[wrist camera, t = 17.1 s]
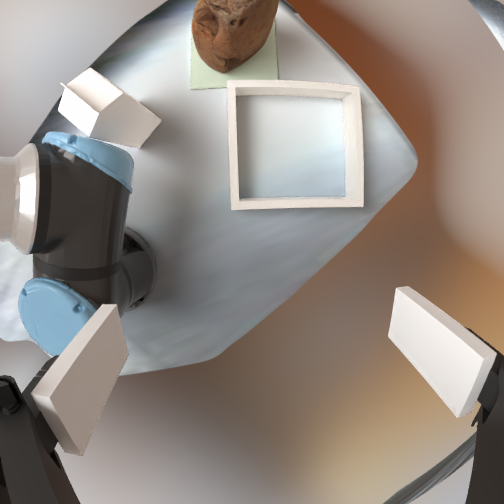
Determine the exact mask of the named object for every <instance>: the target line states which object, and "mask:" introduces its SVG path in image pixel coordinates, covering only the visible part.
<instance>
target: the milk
mask: <svg viewBox="0 0 504 504" xmlns="http://www.w3.org/2000/svg"><path fill="white" fill-rule="evenodd" d="M61 85H63V86H64V87H65V90H64V93H63V96H62V99H61V102H60V105H59V108H58V111H59V112H60V113H61V114H63V115H64V116H65V117H66V118H67V119H68V120H69V121H71V122H72V123H73V124H74V125H75V126H76V127H77V128H79V129H80V130H81V131H82V132H83V133H84V134H85V135H87V136H88V137H89V138H93V139H98V140H103V141H107V142H112V143H116V144H121V145H125V146H129V147H134V148H138V149H139V148H140V147H141V146H142V144H143V143H144V142H145V141H146V139H147V138H148V137H149V136H150V135H151V133H152V132H153V131H154V130H155V128H156V127H157V126H158V125H159V124H160V123H161V121H162V120H161V119H160V118H158V117H157V116H156V115H155V114H153V113H152V112H151V111H149V110H148V109H147V108H146V107H144V106H143V105H142V104H141V103H139V102H138V101H137V100H135V99H134V98H133V97H131V96H130V95H128V94H127V93H126V92H124V91H123V90H122V89H120V88H119V87H117V86H116V85H115V84H113V83H112V82H110V81H109V80H108V79H106V78H105V77H103V76H102V75H100V74H99V73H98V72H96V71H95V70H93V69H92V68H89V69H87V70H86V71H84V72H83V73H82V74H80V75H79V76H78V77H76V78H75V79H74V80H73V81H71V82H70V83H68V84H67V85H66V84H63V83H61Z"/></svg>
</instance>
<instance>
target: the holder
mask: <svg viewBox="0 0 504 504" xmlns="http://www.w3.org/2000/svg"><path fill="white" fill-rule="evenodd" d="M243 95H282V96H307V97H323V98H335V99H342V106H343V122H344V146H345V196H321V197H268V198H241V199H239V184H238V156H237V125H236V96H243ZM227 107H228V141H229V169H230V195H231V210H245V209H272V208H309V207H363V205H364V160H363V131H362V113H361V99H360V87H359V86H352V85H343V84H334V83H324V82H311V81H294V80H227Z"/></svg>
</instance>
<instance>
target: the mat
mask: <svg viewBox="0 0 504 504" xmlns="http://www.w3.org/2000/svg"><path fill="white" fill-rule="evenodd" d="M192 20H193V19H192ZM227 80H278V68H277V51H276V36H275V21H273V26H272V29H271V31H270V34H269V36H268V38H267V40H266V42H265V44H264V46H263V47H262V48H261V49H260V50H259V51H258V52H257V53H256V54H255V55H254V56H252V57H251V58H250V59H249V60H247V61H246V62H245V63H243V64H242V65H240V66H239V67H237V68H235V69H233V70H231V71H229V72H227V73H224V74H223V73H220V72H217V71H215V70H213V69H212V68H210V67H209V66H208V65H207V64H205V62H204V61H203V60H202V59H201V58H200V56H199V54H198V52H197V49H196V47H195V43H194V39H193V35H192V30H191V90H196V89H210V88H227Z"/></svg>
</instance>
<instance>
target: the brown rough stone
mask: <svg viewBox="0 0 504 504" xmlns="http://www.w3.org/2000/svg"><path fill="white" fill-rule="evenodd" d="M278 3H279V0H199V1H198V2H197V3H196V8H195V9H194V14H193V20H192V35H193V39H194V43H195V47H196V49H197V52H198V54H199V56H200V58H201V59H202V60H203V61H204V62H205V64H207V65H208V66H209V67H210V68H212V69H213V70H215V71H217V72H220V73H223V74H224V73H227V72H229V71H231V70H233V69H235V68H237V67H239V66H240V65H242V64H243V63H245V62H246V61H247V60H249V59H250V58H251V57H252V56H254V55H255V54H256V53H257V52H258V51H259V50H260V49H261V48H262V47H263V46H264V44H265V42H266V40H267V38H268V36H269V34H270V31H271V29H272V26H273V21H274V18H275V15H276V12H277V8H278Z"/></svg>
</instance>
